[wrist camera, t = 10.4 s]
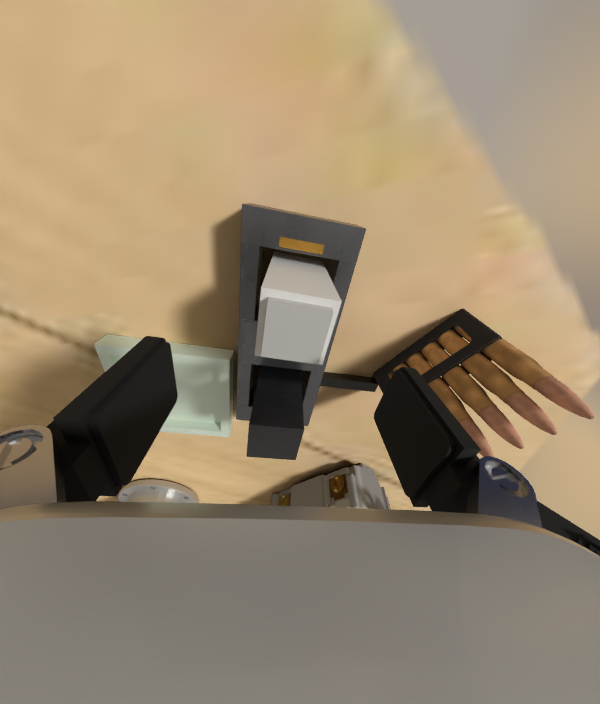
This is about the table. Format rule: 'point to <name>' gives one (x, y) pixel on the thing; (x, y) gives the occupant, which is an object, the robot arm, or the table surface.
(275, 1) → the table surface
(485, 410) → the ammunition clip
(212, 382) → the tray
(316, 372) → the dark grey holder base
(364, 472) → the electrical outlet
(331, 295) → the grey rectangular block
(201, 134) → the table surface
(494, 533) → the robot arm
